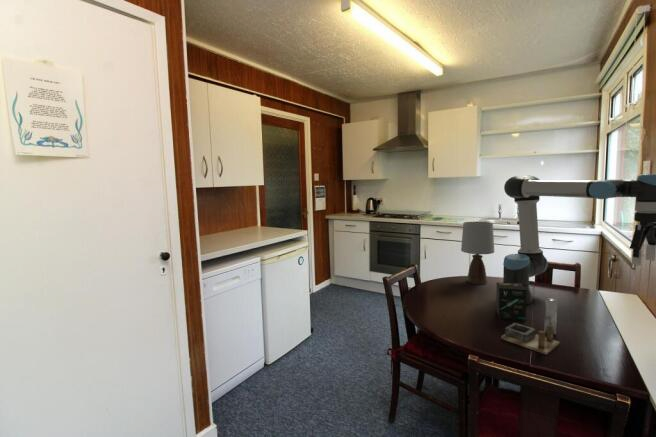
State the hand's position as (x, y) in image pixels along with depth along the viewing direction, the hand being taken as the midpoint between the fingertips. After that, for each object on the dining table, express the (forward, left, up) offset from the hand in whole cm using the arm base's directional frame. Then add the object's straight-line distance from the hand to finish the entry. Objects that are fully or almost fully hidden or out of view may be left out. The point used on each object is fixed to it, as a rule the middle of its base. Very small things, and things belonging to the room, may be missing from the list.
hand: (643, 262), depth 136 cm
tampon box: (-38, -32, -27) cm, 56 cm away
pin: (-20, -37, -27) cm, 50 cm away
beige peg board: (-22, -51, -27) cm, 61 cm away
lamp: (-75, +5, -27) cm, 80 cm away
